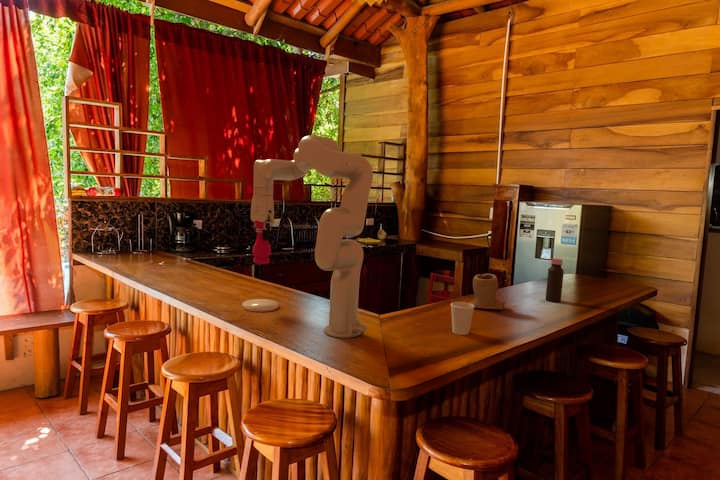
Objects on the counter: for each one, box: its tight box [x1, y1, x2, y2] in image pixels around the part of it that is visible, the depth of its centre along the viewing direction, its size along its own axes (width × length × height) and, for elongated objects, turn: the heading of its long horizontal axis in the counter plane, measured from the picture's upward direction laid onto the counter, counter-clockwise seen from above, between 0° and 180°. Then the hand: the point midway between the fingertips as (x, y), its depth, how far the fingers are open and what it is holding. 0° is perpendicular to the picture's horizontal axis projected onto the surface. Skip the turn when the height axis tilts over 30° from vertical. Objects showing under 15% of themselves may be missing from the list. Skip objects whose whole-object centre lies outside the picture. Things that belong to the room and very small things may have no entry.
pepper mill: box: [251, 220, 272, 265], centre depth 185 cm, size 7×7×20 cm
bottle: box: [545, 258, 565, 303], centre depth 225 cm, size 7×7×20 cm
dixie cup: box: [450, 301, 476, 336], centre depth 167 cm, size 8×8×10 cm
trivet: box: [241, 298, 279, 313], centre depth 188 cm, size 14×14×2 cm
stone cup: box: [468, 273, 506, 311], centre depth 203 cm, size 15×12×15 cm
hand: (262, 238), depth 185 cm, fingers closed on pepper mill, 5 cm apart
